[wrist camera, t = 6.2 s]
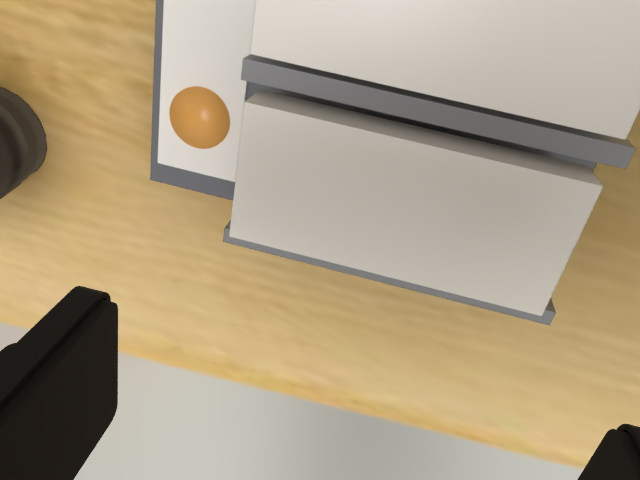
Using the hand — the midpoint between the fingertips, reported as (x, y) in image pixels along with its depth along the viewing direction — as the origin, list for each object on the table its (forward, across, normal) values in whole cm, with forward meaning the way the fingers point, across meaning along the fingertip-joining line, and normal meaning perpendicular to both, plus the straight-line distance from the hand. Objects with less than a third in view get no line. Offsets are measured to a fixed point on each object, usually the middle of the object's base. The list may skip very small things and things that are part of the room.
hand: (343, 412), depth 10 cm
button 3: (+12, -1, 0) cm, 12 cm away
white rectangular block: (+12, -1, -7) cm, 13 cm away
